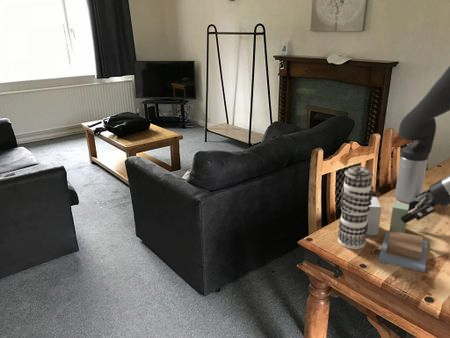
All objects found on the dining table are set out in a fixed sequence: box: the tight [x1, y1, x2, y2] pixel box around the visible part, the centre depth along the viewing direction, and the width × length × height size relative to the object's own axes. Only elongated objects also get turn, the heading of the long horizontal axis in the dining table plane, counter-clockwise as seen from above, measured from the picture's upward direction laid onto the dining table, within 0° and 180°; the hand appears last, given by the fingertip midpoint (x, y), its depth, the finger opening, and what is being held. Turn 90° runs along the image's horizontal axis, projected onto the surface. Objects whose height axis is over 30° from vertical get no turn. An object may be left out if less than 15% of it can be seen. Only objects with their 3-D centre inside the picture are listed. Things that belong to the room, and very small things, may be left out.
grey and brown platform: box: [378, 230, 428, 273], centre depth 109 cm, size 16×12×4 cm
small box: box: [366, 196, 382, 236], centre depth 121 cm, size 8×6×10 cm
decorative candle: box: [337, 165, 374, 250], centre depth 112 cm, size 9×9×25 cm
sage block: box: [388, 201, 409, 233], centre depth 120 cm, size 4×4×9 cm
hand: (403, 214), depth 119 cm, fingers open, 8 cm apart
